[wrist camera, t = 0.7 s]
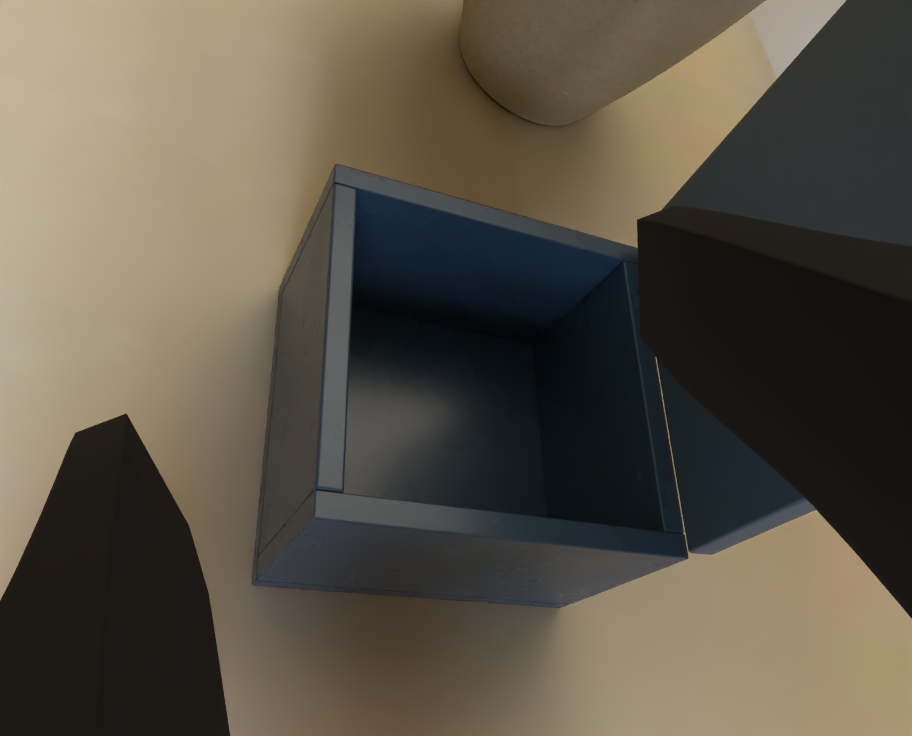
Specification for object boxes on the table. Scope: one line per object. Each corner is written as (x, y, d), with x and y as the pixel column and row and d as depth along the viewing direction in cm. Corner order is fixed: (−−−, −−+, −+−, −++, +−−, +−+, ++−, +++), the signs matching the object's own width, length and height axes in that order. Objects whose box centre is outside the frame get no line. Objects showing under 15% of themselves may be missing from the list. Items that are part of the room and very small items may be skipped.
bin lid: (1120, 356, 12) (1156, 364, 12) (912, -78, 17) (941, -66, 17) (687, 553, 21) (713, 555, 21) (635, 237, 26) (657, 242, 26)
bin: (250, 586, 23) (313, 519, 18) (279, 286, 28) (334, 162, 23) (561, 608, 27) (689, 558, 22) (538, 341, 32) (638, 247, 26)
